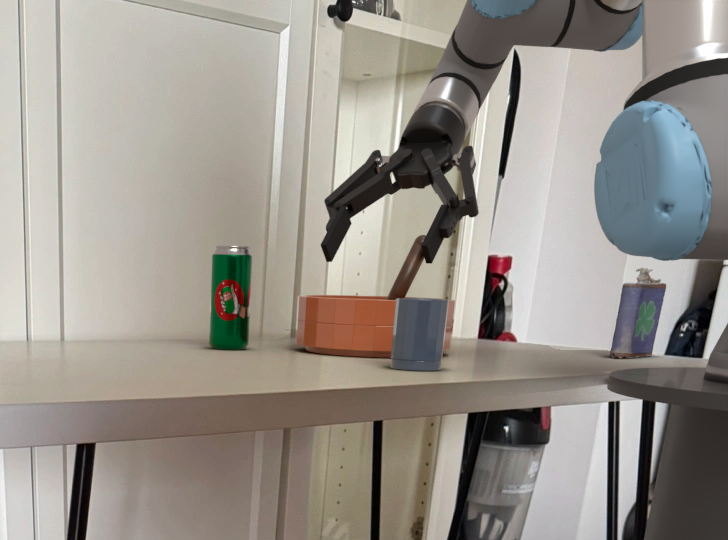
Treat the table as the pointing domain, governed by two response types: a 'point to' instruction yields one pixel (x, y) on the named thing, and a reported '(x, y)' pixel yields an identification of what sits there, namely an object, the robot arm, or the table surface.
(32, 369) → the table surface
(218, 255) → the soda can
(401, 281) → the stirring stick
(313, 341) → the bowl
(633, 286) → the flask
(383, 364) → the table surface
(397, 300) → the crock
